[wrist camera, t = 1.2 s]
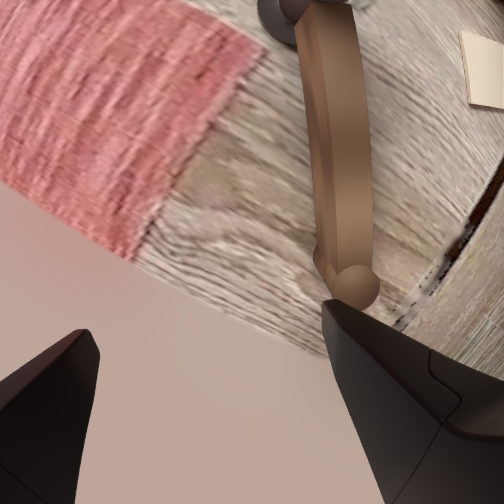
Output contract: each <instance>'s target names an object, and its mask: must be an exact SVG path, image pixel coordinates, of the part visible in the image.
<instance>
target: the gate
mask: <svg viewBox="0 0 504 504" xmlns="http://www.w3.org/2000/svg"><path fill="white" fill-rule="evenodd" d="M347 1H348V0H279V6H280V9H281V11H282V13H283V14H284V16H285V17H286V18H287V19H289V20H290V21H291V22H293V23H295V24H296V25H295V26H294V30H295V36H296V43H297V49H298V56H299V62H300V69H301V76H302V84H303V91H304V99H305V107H306V116H307V125H308V134H309V144H310V154H311V165H312V176H313V188H314V202H315V216H316V233H317V246H316V248H315V250H314V253H313V261H314V264H315V266H316V268H317V269H318V271H319V273H320V275H321V277H322V278H323V280H324V282H325V284H326V285H327V287H328V289H329V291H330V293H331V294H332V296H333V298H334V299H339V300H341V301H343V302H344V303H346V304H348V305H350V306H352V307H354V308H356V309H358V310H359V311H362V310H364V309H366V308H367V307H369V306H370V305H371V304H372V303H373V302H374V301H375V299H376V298H377V296H378V294H379V290H380V282H379V279H378V277H377V275H376V274H375V273H374V272H373V271H372V240H373V196H372V166H371V148H370V133H369V121H368V110H367V101H366V92H365V84H364V76H363V69H362V62H361V55H360V49H359V43H358V37H357V32H356V26H355V21H354V16H353V11H352V7H351V4H345V3H346V2H347Z"/></svg>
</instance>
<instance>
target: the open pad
mask: <svg viewBox="0 0 504 504" xmlns="http://www.w3.org/2000/svg"><path fill="white" fill-rule="evenodd" d="M458 35H459V40H460V45H461V51H462V57H463V63H464V70H465V77H466V85H467V95H468V103H470V104H477V105H483V106H489V107H495V108H500V109H504V45H503V44H501V43H498V42H496V41H493V40H490V39H487V38H484V37H481V36H478V35H475V34H472V33H469V32H466V31H462V30H460V31H458Z"/></svg>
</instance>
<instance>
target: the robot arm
mask: <svg viewBox="0 0 504 504" xmlns="http://www.w3.org/2000/svg"><path fill="white" fill-rule="evenodd" d="M502 1H504V0H502ZM322 332H323V336H324V340H325V343H326V347H327V350H328V354H329V358H330V361H331V365H332V369H333V372H334V376H335V379H336V382H337V384H338V387H339V389H340V392H341V394H342V397H343V399H344V401H345V404H346V406H347V409H348V411H349V414H350V416H351V419H352V421H353V424H354V426H355V428H356V431H357V433H358V436H359V438H360V441H361V443H362V446H363V448H364V451H365V454H366V456H367V459H368V461H369V464H370V466H371V469H372V471H373V474H374V476H375V479H376V481H377V484H378V487H379V489H380V492H381V495H382V497H383V500H384V503H385V504H504V381H502V380H500V379H497V378H495V377H492V376H490V375H487V374H485V373H482V372H480V371H477V370H475V369H473V368H470V367H468V366H466V365H464V364H461V363H459V362H457V361H455V360H453V359H451V358H449V357H447V356H445V355H443V354H441V353H439V352H437V351H435V350H433V349H430V348H429V347H427V346H426V345H424V344H422V343H420V342H418V341H416V340H414V339H412V338H410V337H409V336H407V335H405V334H403V333H401V332H399V331H397V330H395V329H393V328H392V327H390V326H388V325H386V324H384V323H382V322H380V321H378V320H376V319H375V318H373V317H371V316H369V315H367V314H365V313H363V312H361V311H359V310H358V309H356V308H354V307H352V306H350V305H348V304H346V303H344V302H343V301H341V300H339V299H331V300H325V301H323V302H322ZM99 361H100V352H99V349H98V347H97V345H96V343H95V341H94V339H93V336H92V334H91V332H90V331H89V330H88V329H78V330H75V331H73V332H72V333H70V334H69V335H67V336H66V337H64V338H63V339H61V340H60V341H58V342H57V343H55V344H54V345H52V346H51V347H49V348H48V349H46V350H45V351H43V352H42V353H41V354H39V355H38V356H36V357H35V358H33V359H32V360H30V361H29V362H27V363H26V364H25V365H23V366H22V367H20V368H19V369H17V370H16V371H15V372H13V373H12V374H10V375H9V376H8V377H6V378H5V379H3V380H2V381H0V504H75V497H76V490H77V483H78V476H79V470H80V464H81V458H82V452H83V448H84V443H85V438H86V433H87V428H88V423H89V419H90V415H91V410H92V406H93V401H94V395H95V388H96V381H97V374H98V368H99Z"/></svg>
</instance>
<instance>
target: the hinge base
mask: <svg viewBox="0 0 504 504" xmlns="http://www.w3.org/2000/svg"><path fill="white" fill-rule="evenodd" d="M345 4H346V3H345ZM257 12H258V16H259V19H260V21H261V23H262V25H263V26H264V28H265V29H266V30H267V31H268V32H269V33H270V34H271V35H272V36H273V37H275V38H276V39H278V40H279V41H281V42H283V43H285V44H288V45H290V46H294V47H297V43H296V36H295V30H294V26H295V25H296V24H295V23H293V22H291V21H290V20H289V19H287V18H286V17H285V16H284V14H283V13H282V11H281V9H280V6H279V0H258V2H257Z"/></svg>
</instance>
